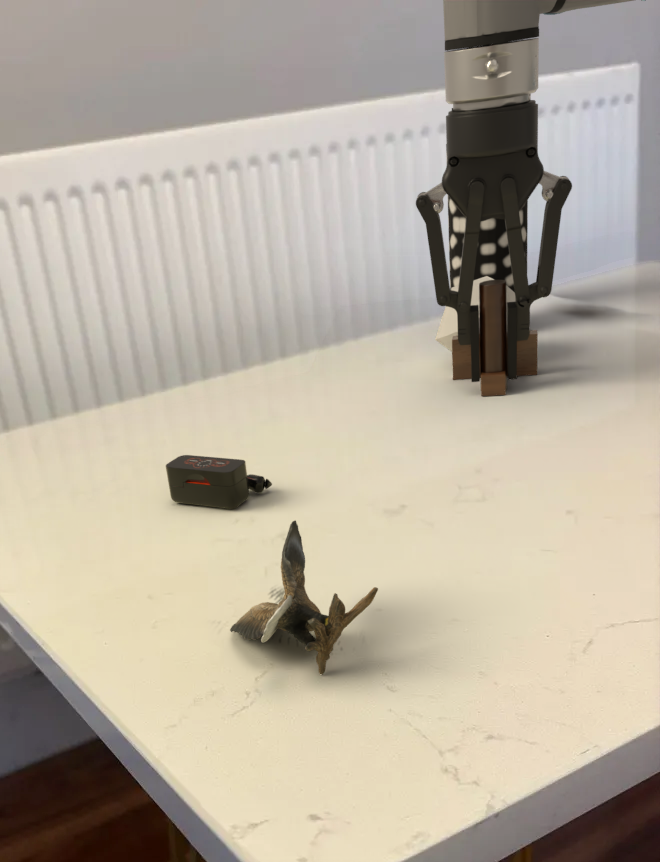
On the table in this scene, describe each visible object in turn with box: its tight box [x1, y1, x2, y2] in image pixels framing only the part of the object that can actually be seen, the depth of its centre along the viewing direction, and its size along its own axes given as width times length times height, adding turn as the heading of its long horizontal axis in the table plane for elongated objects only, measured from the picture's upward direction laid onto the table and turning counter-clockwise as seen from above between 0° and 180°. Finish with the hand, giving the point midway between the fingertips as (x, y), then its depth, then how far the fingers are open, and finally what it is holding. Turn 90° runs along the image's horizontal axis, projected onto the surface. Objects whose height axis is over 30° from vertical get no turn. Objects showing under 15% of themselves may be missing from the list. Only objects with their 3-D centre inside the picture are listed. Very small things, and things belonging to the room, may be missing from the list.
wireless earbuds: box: [165, 454, 273, 510], centre depth 82 cm, size 5×7×3 cm, turn 57°
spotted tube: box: [445, 143, 529, 293], centre depth 112 cm, size 8×8×20 cm
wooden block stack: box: [451, 280, 539, 397], centre depth 97 cm, size 8×8×10 cm
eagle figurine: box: [229, 519, 379, 675], centre depth 59 cm, size 8×7×9 cm
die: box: [434, 276, 515, 353], centre depth 104 cm, size 8×9×10 cm
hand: (493, 375), depth 97 cm, fingers open, 3 cm apart
